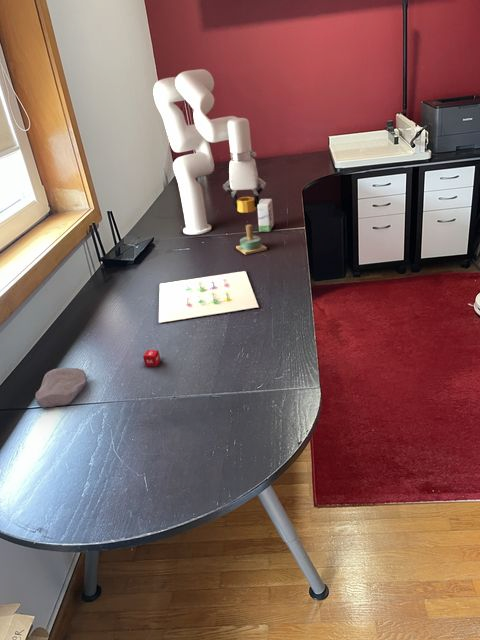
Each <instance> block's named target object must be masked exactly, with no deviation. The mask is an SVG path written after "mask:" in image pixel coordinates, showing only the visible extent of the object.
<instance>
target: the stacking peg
mask: <svg viewBox="0 0 480 640" xmlns="http://www.w3.org/2000/svg"><path fill="white" fill-rule="evenodd" d="M245 231H246V233H245V234H246V236H244V237H241V238H240V239H239V244H240V245H236V246H235V249H236V250H238V251H239V252H241V253H242V254H244V255H245V256H248V255H251V254H254V253H255V254H256V253H259V252H263V251H267V250H268V249H267V248H268V247H267V246H265V245H264V244H262V238H261V237H260V236H258V235H254V232H253V231H254V230H253V224H246V225H245Z"/></svg>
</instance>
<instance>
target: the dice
mask: <svg viewBox="0 0 480 640" xmlns="http://www.w3.org/2000/svg"><path fill="white" fill-rule="evenodd" d="M142 358H143V362H144V365H145V367H158V365H159V363H160V362H161V357H160V352H159V350H158V349H147V350H146V351H145V353H143V355H142Z"/></svg>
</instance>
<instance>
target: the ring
mask: <svg viewBox="0 0 480 640" xmlns="http://www.w3.org/2000/svg"><path fill="white" fill-rule="evenodd" d="M236 201H237V208H236V210H237V212H239V213H242V214H243V213H253V212H255V211H256V210H257V207H255V202H254V196H242V197H237V200H236Z"/></svg>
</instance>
